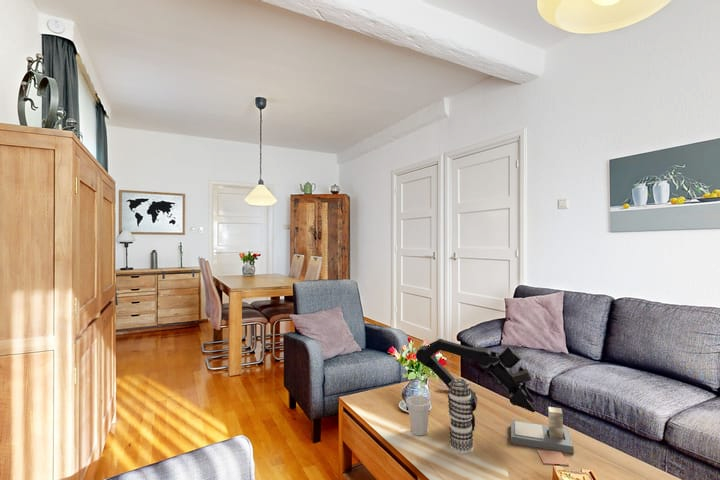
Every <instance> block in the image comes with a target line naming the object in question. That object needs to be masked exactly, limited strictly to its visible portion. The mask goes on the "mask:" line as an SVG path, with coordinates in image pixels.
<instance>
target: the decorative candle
mask: <svg viewBox="0 0 720 480" xmlns="http://www.w3.org/2000/svg"><path fill="white" fill-rule="evenodd" d="M449 386H450V390H449V394H447V398H448V400H447V403H448V405H447V406H448V412H449V418H450V422H449V423H450V426H449V444H450V446H449V447H450V449H451V450H452V451H454V452H455V453H458V454H462V455H463V454H470V453H472V452H473V450H474V439H473V437H474V434H473V430H472V424H471V419H472V415H471V414H472V413H473V414H474V411H472V409H473V407H472V406H471V405H472V404H473V401H472V400H473V397H472V396H471V393H470V388H471V387H472V385H471V383H469V382H468V380H465V379H463V378H455V379H454V380H452V381H451V382H450V383H449Z"/></svg>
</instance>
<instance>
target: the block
mask: <svg viewBox="0 0 720 480" xmlns="http://www.w3.org/2000/svg"><path fill="white" fill-rule="evenodd" d="M547 407H548V408H547V411H548V413H547V414H548V417H547V418H548V425H549V436H548V437H550V438H556V439H563V428H564V418H563V415H564V414H563V413H564V412H563V409H562V408H560V407H553V406H547ZM563 440H564V439H563Z"/></svg>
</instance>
